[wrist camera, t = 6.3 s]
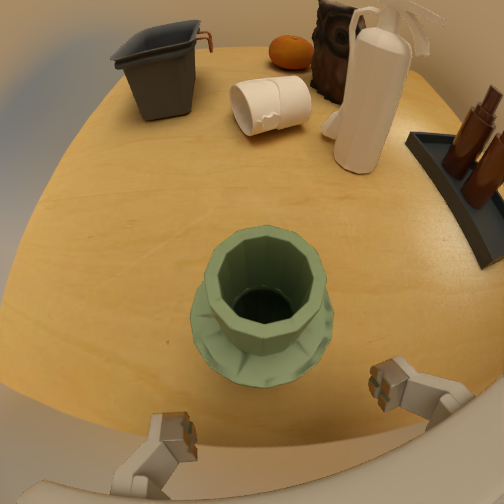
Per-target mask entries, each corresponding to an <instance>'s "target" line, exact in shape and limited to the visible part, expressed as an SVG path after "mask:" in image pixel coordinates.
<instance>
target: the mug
mask: <svg viewBox="0 0 504 504" xmlns="http://www.w3.org/2000/svg"><path fill="white" fill-rule="evenodd" d="M230 102H231V107H232V110H233V113H234V116H235V119H236V121H237V123H238V125H239V127H240V128H241V130H242V131H243V132H244V133H245V134H246V135H247V136H252V135H256V134H259V133H262V132H265V131H269V130H272V129H277V130H280V129H283V128H287V127H291V126H295V125H299V124H303V123H306V122H307V121H308V120H309V118H310V116H311V112H312V101H311V96H310V93H309V90H308V88H307V86H306V84H305V83H304V81H303V80H302V79H301V78H299V77H298V76H284V77H273V78H263V79H255V80H248V81H243V82H239V83H237V84H234V85H232V86H231V88H230Z"/></svg>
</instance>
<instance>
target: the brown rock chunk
mask: <svg viewBox="0 0 504 504" xmlns="http://www.w3.org/2000/svg"><path fill="white" fill-rule="evenodd" d="M318 1H319V8H318V11H317V18H318V19H317V23H316V24H317V27H316V28H315V29H314V32H313V34H312V40H313V42H314V53H313V56H312V62H311V69H312V76H313V80H311V82H310V87H312V88H314V89H316V90H318V91H317V93H319V94H321V95H323V96H324V99H326V100H329V101H331V102H333V103H336V104H340V105H342V103H343V100H344V93H345V86H346V78H347V70H348V62H349V53H350V42H349V26H350V23H351V19H352V16H353V13H354V10H357V8H354V7H351V6H347V5H344V4H341V3H338V2H330V1H328V0H318ZM362 29H366V25H365V20H364V17H363V15H360V16H359V19H358V23H357V26H356V30H355V37H356V38H357V35H358V34H359V33H360V32H361V31H362Z"/></svg>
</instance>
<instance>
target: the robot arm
mask: <svg viewBox="0 0 504 504" xmlns="http://www.w3.org/2000/svg"><path fill="white" fill-rule="evenodd" d="M370 374H371V375H372V376H371V377H370V379H369V382H368V386H369V390H370V393H371V394H372V396H373V397H374V398H377V399H378V405H379V406H380V407H381V409H382V410H383V412H384V413H385V412H387V411H390V410H392V409H394V408H396V407H398V406H400V407H401V408H404V409H406V410H408V411H410V412H412V413H414V414H417V415H419V416H421V417H423V418H425V419H428V420H430V421H429V423H428V425H427V427H426V430H425V431H426V432H424V433H423V434H421V435H419V436H417V437H416V438H414V439H412V440H410V441H408V442H407V443H405V444H403V445H401V446H399V447H397V448H395V449H393V450H391V451H389V452H387V453H385V454H383V455H380V456H378V457H376V458H374V459H372V460H369V461H367V462H365V463H362V464H360V465H357V466H355V467H352V468H350V469H347V470H344V471H342V472H339V473H336V474H333V475H330V476H327V477H324V478H321V479H318V480H314V481H311V482H307V483H303V484H300V485H296V486H292V487H287V488H284V489H279V490H274V491H269V492H264V493H258V494H252V495H245V496H237V497H229V498H219V499H204V500H171V499H170V498H169V497H168V496H167V495H166V494H165V493H164V492H162V491H161V489H162V488H163V486H164V485H165V484H166V482H167V481H168V479H169V478H170V476H171V475H172V473H173V472H174V470H175V469H176V467H177V466H178V464H179V462H192V461H197V448H196V446H195V443H196V442H197V434H196V429H195V426H194V424H193V422H191V421H189V418H190V416H189V415H188V413H187V412H173V413H155V414H153V415H152V416H151V422H150V428H149V434H148V441H147V442H144V443H143V444H142V445H141V446H140V447H139V448H138V449H137V450H136V451H135V452H134V453H133V454H132V455H131V456H130V457H129V458H128V459H127V460H126V461H125V462H124V463H123V464H122V465H121V466H120V467H119V468H118V469H117V470H116V471H115V472H114V474H113V480H112V485H111V491H110V495H107V494H101V493H96V492H91V491H86V490H82V489H77V488H73V487H69V486H66V485H62V484H58V483H55V482H52V481H48V480H42V481H40V482H38V483H36V484H34V485H33V486H31V487H30V488H28V489H27V490H26V491H24V492H23V493H22V494H21V495H20V497H19V499H18V501H17V503H16V504H504V373H503V374H502V375H501V376H500V377H499V378H498V379H496V380H495V381H494V382H493V383H492V384H491V385H490V386H488V387H487V388H486V389H485V390H484V391H482V392H481V393H480V394H479V395H478V396H474V395H473V394H472V393H471V392H470V391H469V390H468V389H467V388H466V387H465V386H464V385H463V384H462V383H460V382H456V381H452V380H448V379H444V378H440V377H436V376H433V375H429V374H425V373H422V372H421V373H418V372H417V371H416V370H415V369H414V368H413V367H412V366H411V365H410V364H409V363H408V362H407V361H406V360H405V359H404V358H403V357H402V356H401V355H397V356H395V357H393V358H391V359H388V360H386V361H383V362H381V363H378V364H376V365H374V366H372V367H371V368H370Z"/></svg>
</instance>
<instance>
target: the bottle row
mask: <svg viewBox="0 0 504 504" xmlns="http://www.w3.org/2000/svg"><path fill="white" fill-rule="evenodd" d="M502 97H503V94H502V93H501V92H500V91H499V90H498V89H497V88H496V87H494V86H493V85H490V87H489V89H488V91H487V93H486V95H485V98H484V100H483V102H482V103H480V102H478V103H477V105H476V107H470V110H469V112H468V113H467V115H466V118H465V120H464V122H463V123H462V125H461V127H460V129H459V131H458V133H457V135H456V137H455V139H454V140H453V142H452V144H451V146H450V148H449V149H448V151H447V153H446V155H445V156H444V158H443V160H442V165H443V167H444V169H445V170H446V171H447V172H448V173H449V174H450V175H451V176H452V177H454V178H455V179H458V180H463V179H464V178H465V177H466V175H467V174H468V172H469V171H470V169H471V168H472V166H473V165H474V163H475V162H476V160H477V159H478V157H479V156H480V154H481V152H482V151H483V149H484V148H485V146H486V144H487V143H488V141H489V139H490V138H491V136H492V134H493V132H494V131H495V129H496V125H495V123H494V121H495V119H496V118H497V117H496V115H495V114H494V113H495V111H496V109H497V107H498V105H499V103H500V101H501V99H502ZM503 182H504V131H503V132H502V134H500V133H497V134H496V135H495V137H494V138H493V140H492V142H491V143H490V145H489V147H488V148H487V150H486V151H485V153H484V155H483V156H482V158H481V159H480V161H479V162H478V164H477V165H476V167H475V168H474V170H473V171H472V173H471V174H470V176H469V177H468V178H467V180H466V181H465V183H464V184H463V185H462V187H461V191H462V194H463V196H464V198H465V200H466V201H467V202H468V203H469V204H470V205H471V206H472V207H474V208H475V209H479V210H480V209H482V208H483V207H484V206H485V204H486V203H487V202H488V201H489V200H490V198H491V197H492V196H493V195H494V193H495V192H496V191H497V190H498V188H499V187H500V186H501V185H502V183H503Z"/></svg>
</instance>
